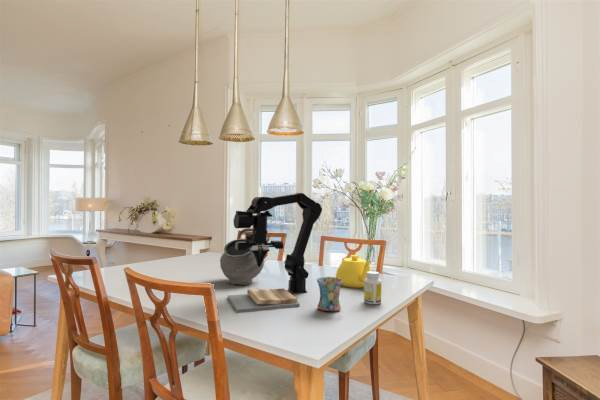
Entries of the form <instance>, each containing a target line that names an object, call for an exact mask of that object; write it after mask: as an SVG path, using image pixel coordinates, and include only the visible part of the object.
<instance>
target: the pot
mask: <svg viewBox="0 0 600 400" xmlns="http://www.w3.org/2000/svg"><path fill="white" fill-rule="evenodd" d="M252 230H253V227H252V228H251V227H250V228H242V230H241V231H239V232H238V234H237V238H235V239H233V240H231V241H229V242H227V243H226V244H225V246H224V248H223V252H224V253H222V255H221V256H220V259H219V263H220V270H221V271H222V273H223V275H224V277H225V278H227V279H228V281H229V283H230V284H231V285H243V286H244V285H245V286H246V285H250V284H251V283H253V279H254V278H257V277H258V275H260V273H261V272H262V270H263V268H264V266H265V258H264V259H263V262H262V264H261V266H260V267H258V265H257V262H256V259H255V256H254V254H253V252H252V251H250V250H249V249H250V248H247V249H246V250H237V249H235V243H236V242H238V241H245V238H241V236H242V234H243V233H247V232H252ZM245 242H247V243H250V241H245ZM259 248H261V247H258V250H259Z"/></svg>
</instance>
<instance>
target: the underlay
mask: <svg viewBox="0 0 600 400" xmlns="http://www.w3.org/2000/svg"><path fill="white" fill-rule="evenodd" d="M227 299H228V301H229V302H230V304H231V305H232V307H233V308H234V310H235V311H236V313H245V312H257V311H267V310H278V309H288V308H298V307H300V303H299V302H298V301H297V303H289V304H282V303H281V304H256V302H255V301H254V300H253V299H252V298H251V297H250V296H249V295H248V293H242V294H241V293H240V294H228V295H227Z"/></svg>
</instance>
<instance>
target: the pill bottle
mask: <svg viewBox="0 0 600 400" xmlns="http://www.w3.org/2000/svg"><path fill="white" fill-rule="evenodd" d="M379 276H380V272H378V271H373V270H372V271H368V272H367V278H366V279H365V280H364V287H363V291H364V292H363V296H364V297H363V300H364V301H363V302H365V303H366V304H370V305H379V304H382V280H381V279H380V278H379Z"/></svg>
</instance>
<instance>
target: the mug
mask: <svg viewBox="0 0 600 400" xmlns="http://www.w3.org/2000/svg"><path fill="white" fill-rule="evenodd" d="M316 281H317V284H318V288H319V301H318V304H317V308H318V309H319V310H321V311H323V312H336V311H339V310H341V309H342V306H341V303H340V295H341V293H340V291H341V290H340V289H341V286H342V285H341V284H342V282H343V280H342V279H340V278H336V276H334V277H332V276H322V277H317V279H316Z"/></svg>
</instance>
